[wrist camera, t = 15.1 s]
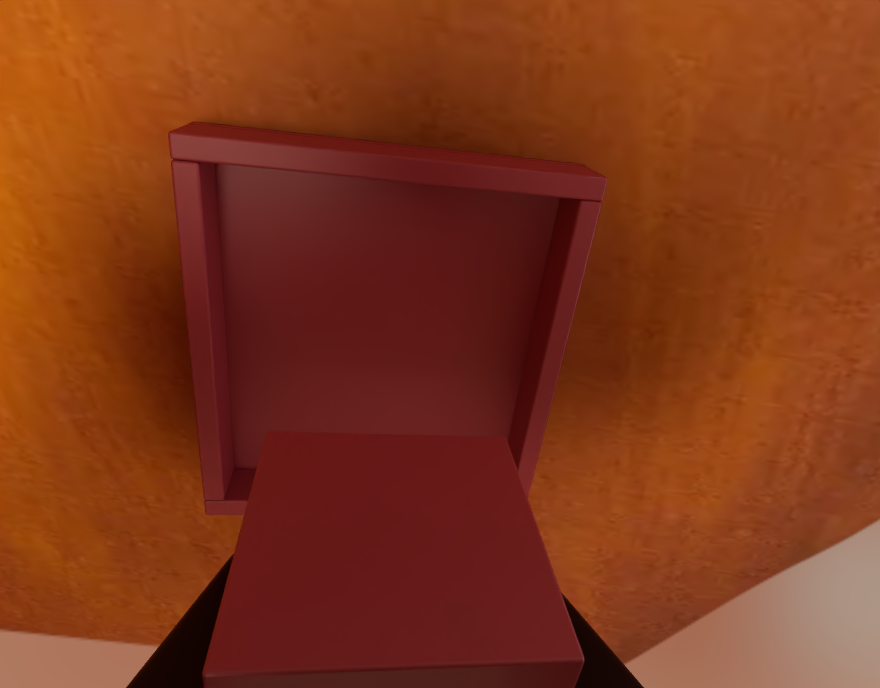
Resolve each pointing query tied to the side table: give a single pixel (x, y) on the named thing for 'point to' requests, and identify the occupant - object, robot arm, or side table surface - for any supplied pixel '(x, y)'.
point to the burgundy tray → (372, 291)
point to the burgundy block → (390, 571)
